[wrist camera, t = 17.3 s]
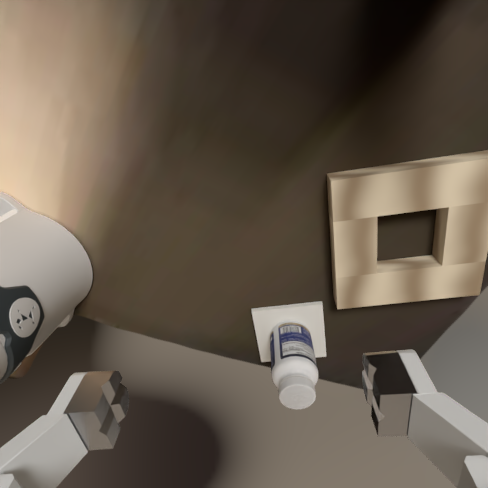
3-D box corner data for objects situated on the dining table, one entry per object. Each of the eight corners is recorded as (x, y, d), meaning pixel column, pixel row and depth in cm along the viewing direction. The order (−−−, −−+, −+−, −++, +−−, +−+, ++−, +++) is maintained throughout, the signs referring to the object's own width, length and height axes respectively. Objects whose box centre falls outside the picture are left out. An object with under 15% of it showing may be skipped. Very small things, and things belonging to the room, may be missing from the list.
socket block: (333, 296, 44) (337, 309, 41) (326, 173, 36) (331, 180, 34) (468, 282, 42) (479, 294, 40) (489, 150, 35) (504, 156, 32)
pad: (261, 358, 49) (261, 362, 49) (251, 308, 45) (251, 311, 44) (325, 353, 48) (326, 356, 48) (321, 301, 44) (322, 304, 43)
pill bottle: (291, 355, 48) (298, 420, 39) (261, 336, 46) (261, 399, 38) (319, 333, 46) (333, 396, 37) (288, 312, 44) (295, 372, 36)
